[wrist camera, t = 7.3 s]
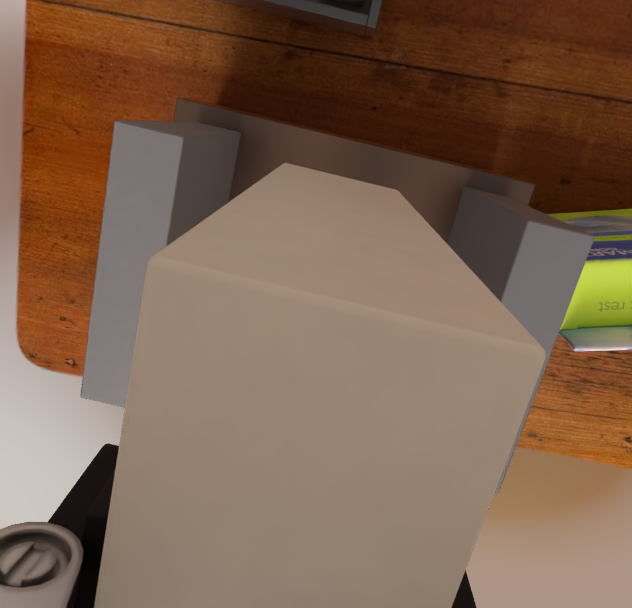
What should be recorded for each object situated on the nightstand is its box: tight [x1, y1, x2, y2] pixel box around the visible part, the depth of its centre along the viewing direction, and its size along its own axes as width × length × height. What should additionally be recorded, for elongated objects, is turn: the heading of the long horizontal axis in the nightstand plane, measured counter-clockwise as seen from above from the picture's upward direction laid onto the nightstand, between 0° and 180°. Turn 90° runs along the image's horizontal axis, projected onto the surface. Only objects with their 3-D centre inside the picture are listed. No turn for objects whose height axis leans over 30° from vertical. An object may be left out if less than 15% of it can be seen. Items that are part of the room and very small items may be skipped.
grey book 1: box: [81, 120, 241, 408], centre depth 28 cm, size 2×11×12 cm, turn 167°
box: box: [547, 209, 632, 351], centre depth 35 cm, size 11×4×17 cm, turn 94°
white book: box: [94, 163, 545, 608], centre depth 13 cm, size 4×11×13 cm, turn 167°
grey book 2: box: [447, 187, 595, 493], centre depth 28 cm, size 2×11×12 cm, turn 167°
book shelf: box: [174, 98, 535, 243], centre depth 39 cm, size 20×13×10 cm, turn 77°
